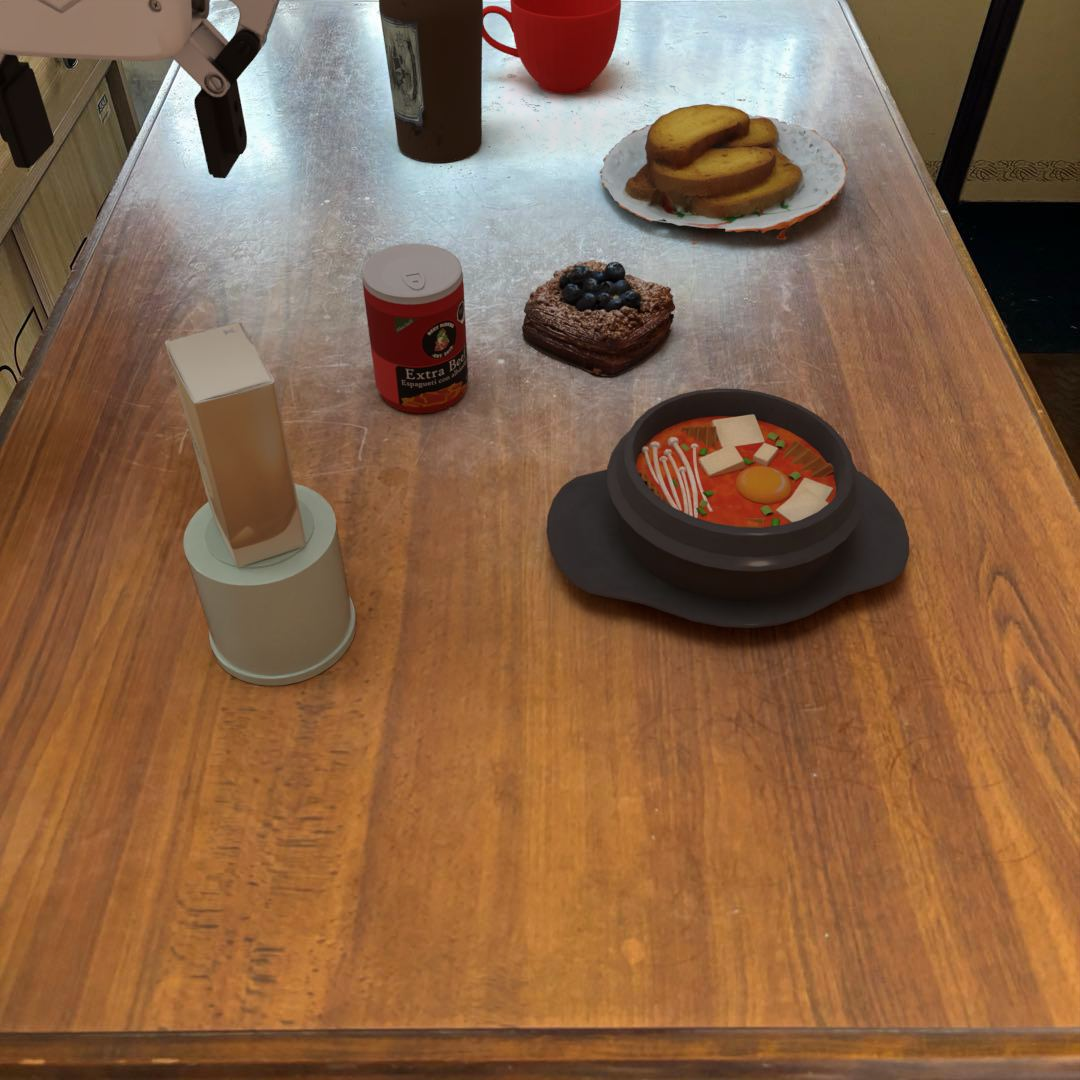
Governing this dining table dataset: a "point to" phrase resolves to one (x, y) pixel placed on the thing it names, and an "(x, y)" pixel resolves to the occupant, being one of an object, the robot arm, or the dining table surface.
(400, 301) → the canned food
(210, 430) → the cosmetic box
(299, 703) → the dining table surface
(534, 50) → the ceramic cup
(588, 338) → the pastry
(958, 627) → the dining table surface
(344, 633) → the upturned cup
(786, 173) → the food on plate
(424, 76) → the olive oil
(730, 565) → the casserole
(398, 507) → the dining table surface
